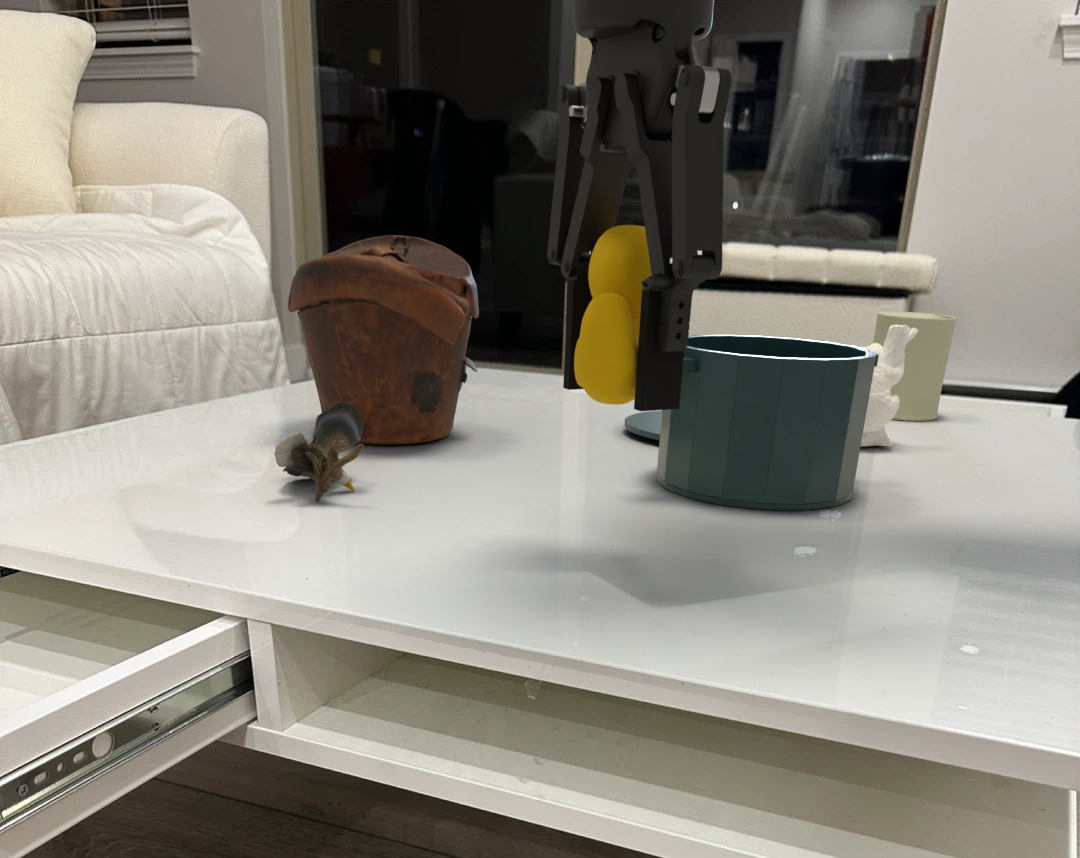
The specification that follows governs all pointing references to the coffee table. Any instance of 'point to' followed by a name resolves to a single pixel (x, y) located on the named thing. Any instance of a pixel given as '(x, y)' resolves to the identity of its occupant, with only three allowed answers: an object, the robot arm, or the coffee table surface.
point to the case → (389, 333)
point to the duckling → (613, 316)
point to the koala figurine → (885, 384)
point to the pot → (766, 422)
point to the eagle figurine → (324, 448)
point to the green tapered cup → (919, 361)
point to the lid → (645, 424)
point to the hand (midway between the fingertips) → (618, 397)
